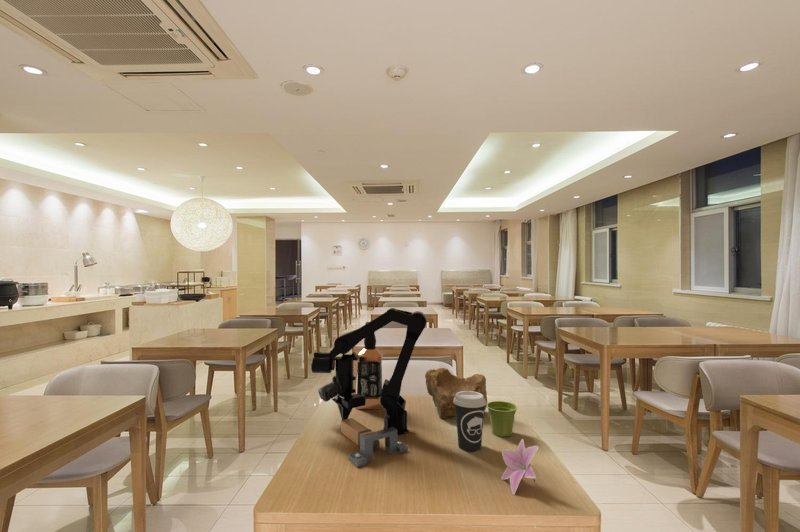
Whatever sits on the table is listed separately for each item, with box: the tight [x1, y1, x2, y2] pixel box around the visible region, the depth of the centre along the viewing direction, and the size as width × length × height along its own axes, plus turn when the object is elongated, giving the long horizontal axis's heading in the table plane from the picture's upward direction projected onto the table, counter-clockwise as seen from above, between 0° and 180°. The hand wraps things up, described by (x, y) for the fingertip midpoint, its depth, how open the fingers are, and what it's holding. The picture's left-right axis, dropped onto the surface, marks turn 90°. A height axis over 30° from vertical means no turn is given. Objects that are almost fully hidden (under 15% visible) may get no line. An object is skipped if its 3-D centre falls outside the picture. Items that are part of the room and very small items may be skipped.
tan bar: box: [340, 417, 380, 452], centre depth 114 cm, size 17×4×4 cm, turn 35°
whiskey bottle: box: [355, 321, 384, 410], centre depth 147 cm, size 10×10×32 cm
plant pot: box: [486, 400, 518, 438], centre depth 120 cm, size 9×9×9 cm
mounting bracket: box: [348, 427, 409, 468], centre depth 105 cm, size 5×16×6 cm, turn 125°
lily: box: [501, 438, 539, 495], centre depth 91 cm, size 12×12×10 cm
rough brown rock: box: [424, 367, 488, 419], centre depth 136 cm, size 23×17×15 cm
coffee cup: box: [453, 391, 486, 453], centre depth 110 cm, size 10×10×15 cm
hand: (344, 421), depth 123 cm, fingers closed
